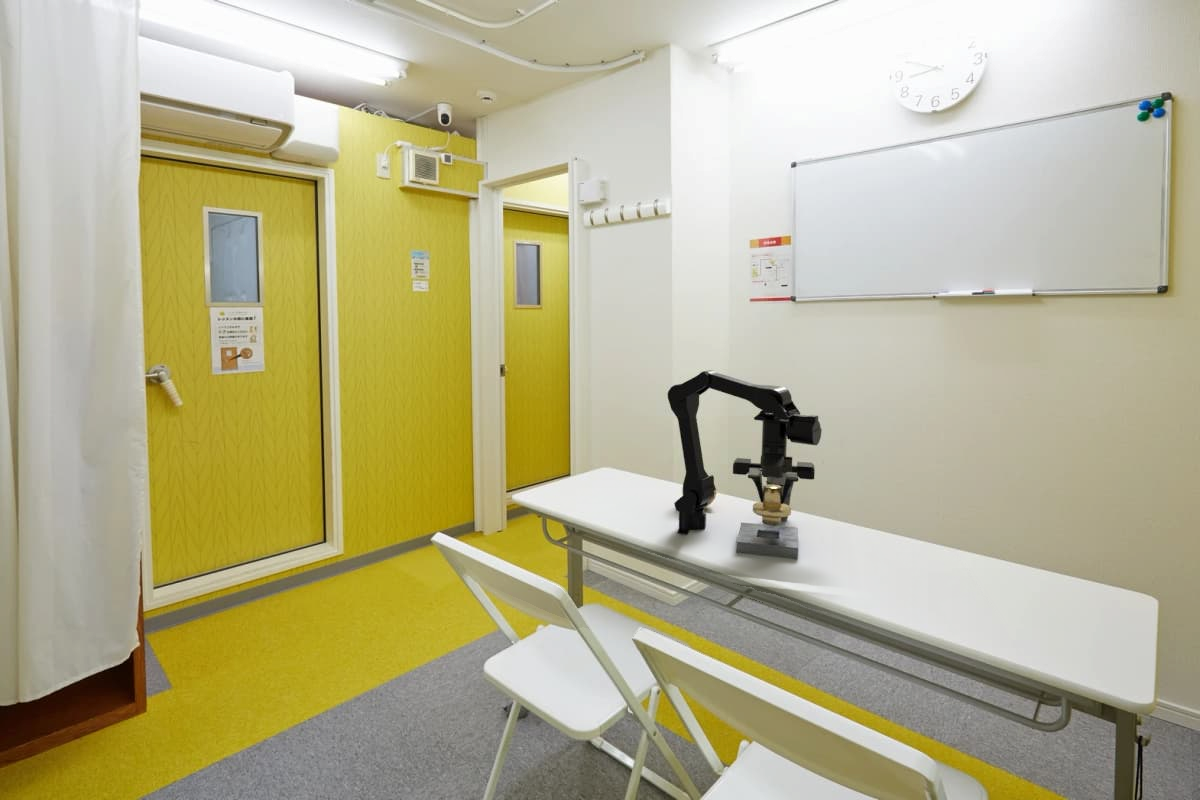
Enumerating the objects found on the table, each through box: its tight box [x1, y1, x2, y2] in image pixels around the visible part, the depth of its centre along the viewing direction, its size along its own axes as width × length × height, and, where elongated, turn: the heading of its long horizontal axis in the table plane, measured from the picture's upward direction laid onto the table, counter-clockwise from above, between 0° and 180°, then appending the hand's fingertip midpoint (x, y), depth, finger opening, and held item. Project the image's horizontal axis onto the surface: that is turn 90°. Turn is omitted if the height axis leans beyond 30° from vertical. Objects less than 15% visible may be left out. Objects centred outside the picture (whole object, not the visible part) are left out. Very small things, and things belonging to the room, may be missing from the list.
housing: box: [735, 522, 799, 560], centre depth 158 cm, size 14×14×4 cm
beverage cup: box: [766, 473, 794, 522], centre depth 176 cm, size 7×7×20 cm
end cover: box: [752, 484, 792, 526], centre depth 156 cm, size 9×9×9 cm
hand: (772, 502), depth 156 cm, fingers closed on end cover, 4 cm apart
